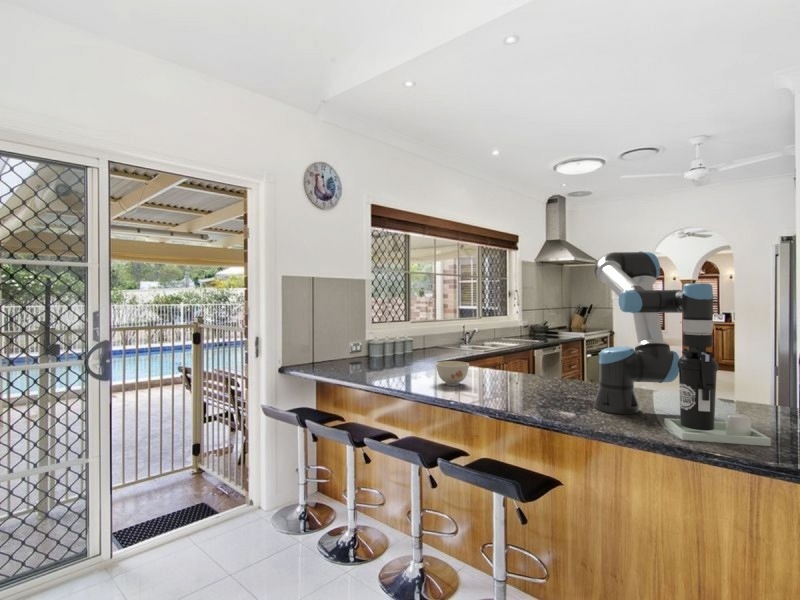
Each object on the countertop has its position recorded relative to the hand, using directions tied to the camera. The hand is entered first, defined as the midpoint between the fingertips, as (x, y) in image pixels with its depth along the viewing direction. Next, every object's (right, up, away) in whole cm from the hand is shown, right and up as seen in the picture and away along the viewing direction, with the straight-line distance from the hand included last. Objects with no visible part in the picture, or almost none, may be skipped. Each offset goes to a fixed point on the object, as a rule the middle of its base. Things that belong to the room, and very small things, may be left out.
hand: (696, 406), depth 131 cm
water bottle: (0, -6, 0) cm, 6 cm away
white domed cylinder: (+11, -8, -3) cm, 14 cm away
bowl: (-66, -8, +75) cm, 100 cm away
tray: (+4, -9, -1) cm, 10 cm away
